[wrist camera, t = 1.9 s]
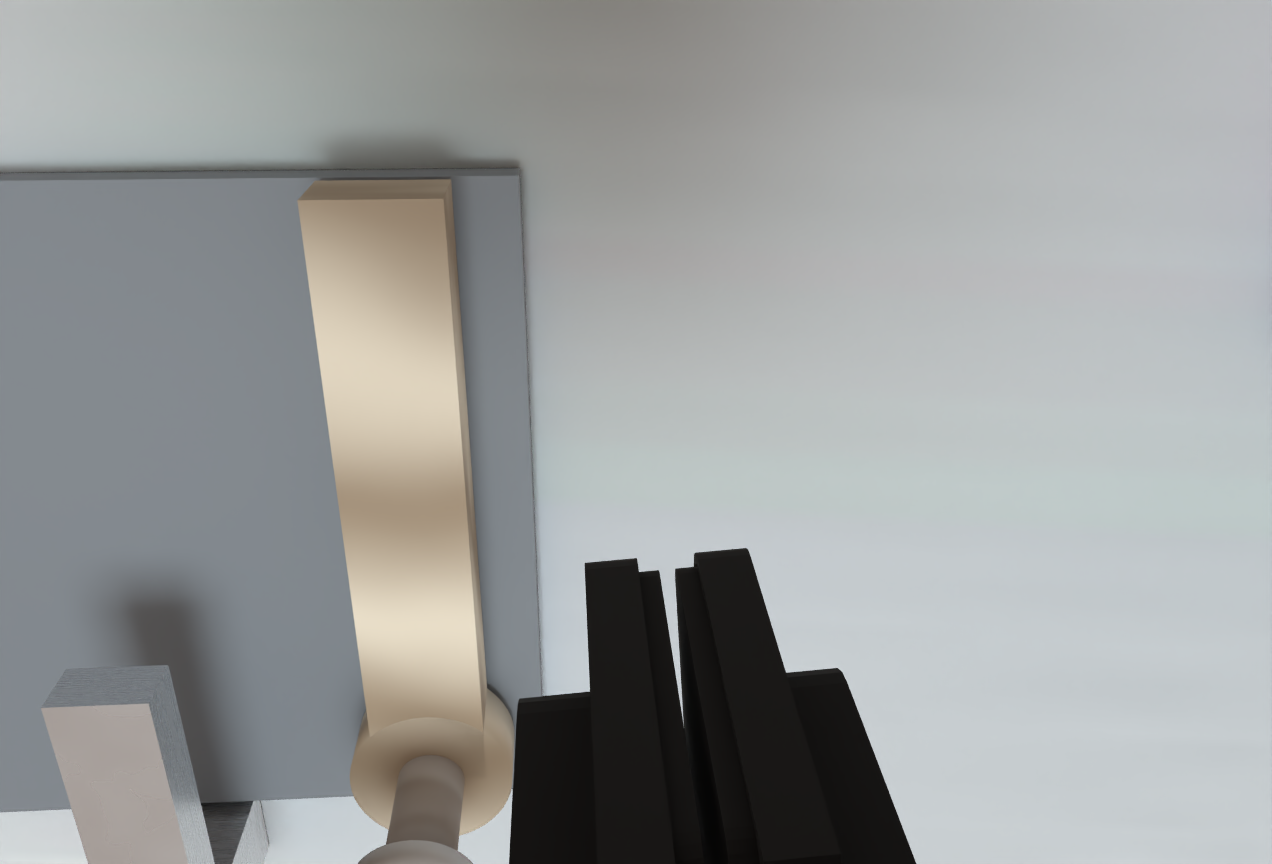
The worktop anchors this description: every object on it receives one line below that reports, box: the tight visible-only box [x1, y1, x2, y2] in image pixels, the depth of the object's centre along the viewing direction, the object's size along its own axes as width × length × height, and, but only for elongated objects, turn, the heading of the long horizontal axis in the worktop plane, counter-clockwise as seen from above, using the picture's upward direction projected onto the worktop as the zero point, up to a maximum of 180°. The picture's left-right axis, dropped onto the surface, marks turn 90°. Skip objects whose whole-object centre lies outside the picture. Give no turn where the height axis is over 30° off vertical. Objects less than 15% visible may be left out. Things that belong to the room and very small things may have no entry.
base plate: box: [0, 168, 542, 812], centre depth 28 cm, size 18×20×1 cm
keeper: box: [41, 665, 269, 864], centre depth 29 cm, size 10×2×5 cm, turn 0°
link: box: [297, 179, 515, 864], centre depth 25 cm, size 18×4×6 cm, turn 0°
